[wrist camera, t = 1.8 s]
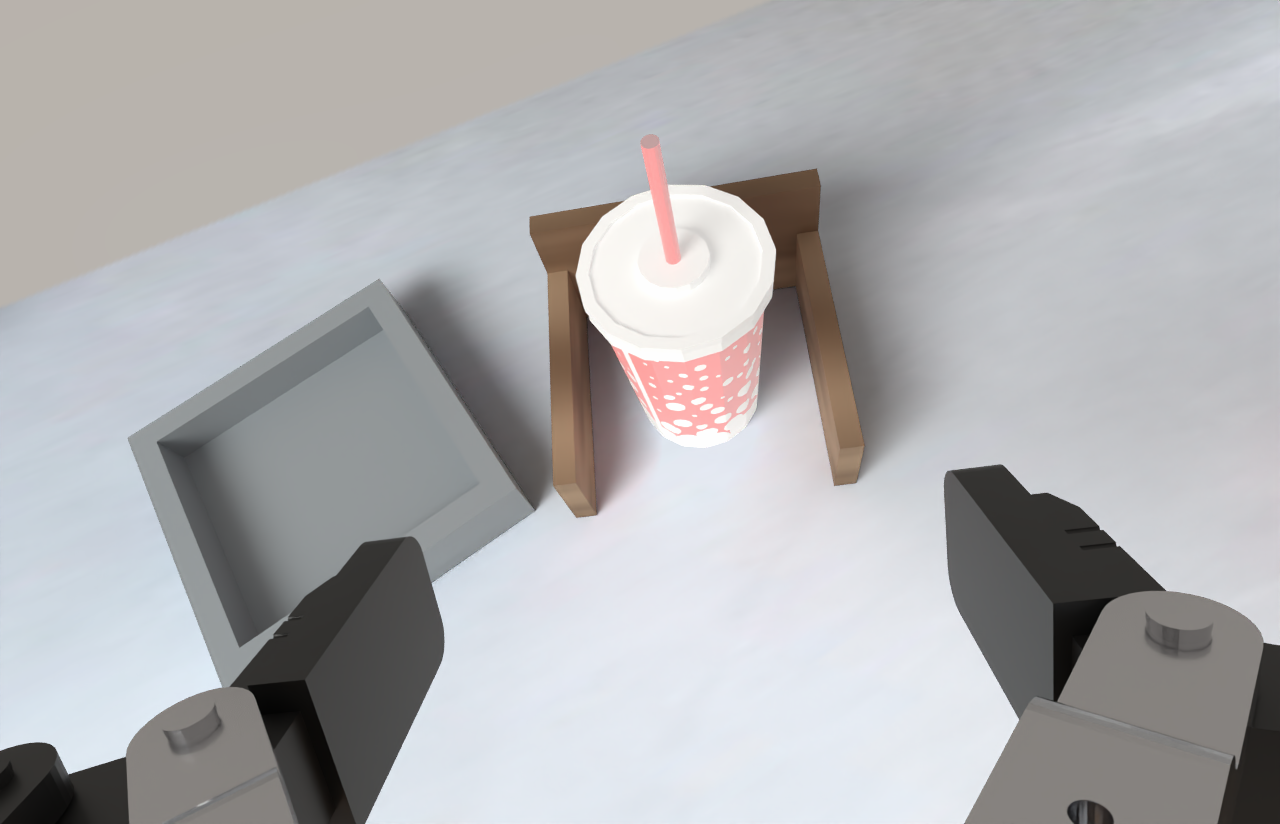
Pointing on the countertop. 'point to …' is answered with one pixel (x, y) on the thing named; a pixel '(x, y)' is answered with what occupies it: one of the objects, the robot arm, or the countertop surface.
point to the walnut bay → (798, 263)
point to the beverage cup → (682, 302)
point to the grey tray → (318, 471)
